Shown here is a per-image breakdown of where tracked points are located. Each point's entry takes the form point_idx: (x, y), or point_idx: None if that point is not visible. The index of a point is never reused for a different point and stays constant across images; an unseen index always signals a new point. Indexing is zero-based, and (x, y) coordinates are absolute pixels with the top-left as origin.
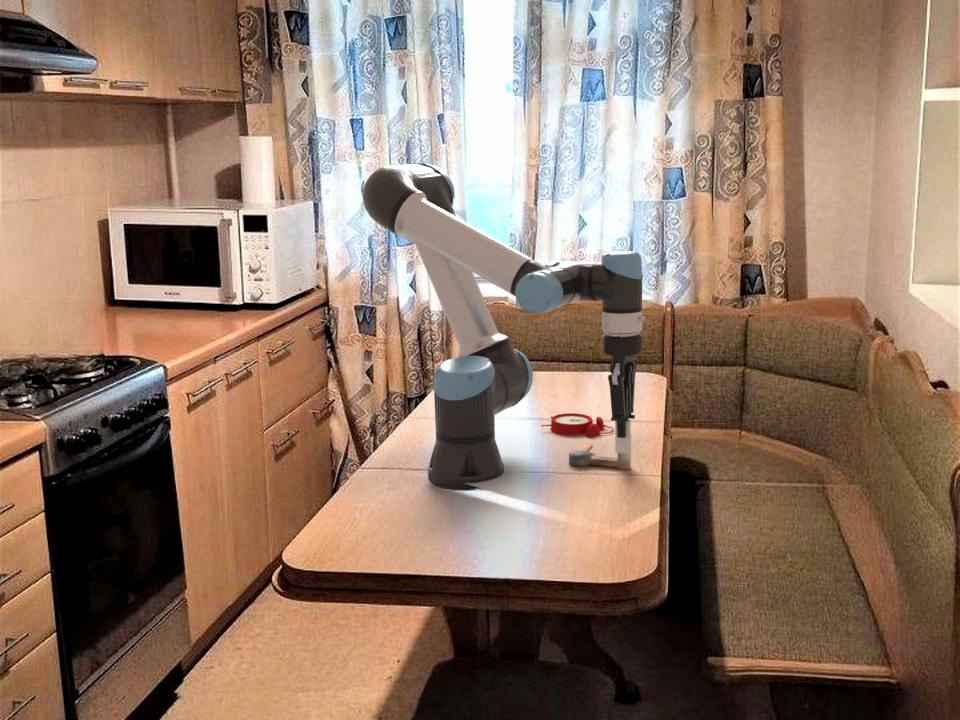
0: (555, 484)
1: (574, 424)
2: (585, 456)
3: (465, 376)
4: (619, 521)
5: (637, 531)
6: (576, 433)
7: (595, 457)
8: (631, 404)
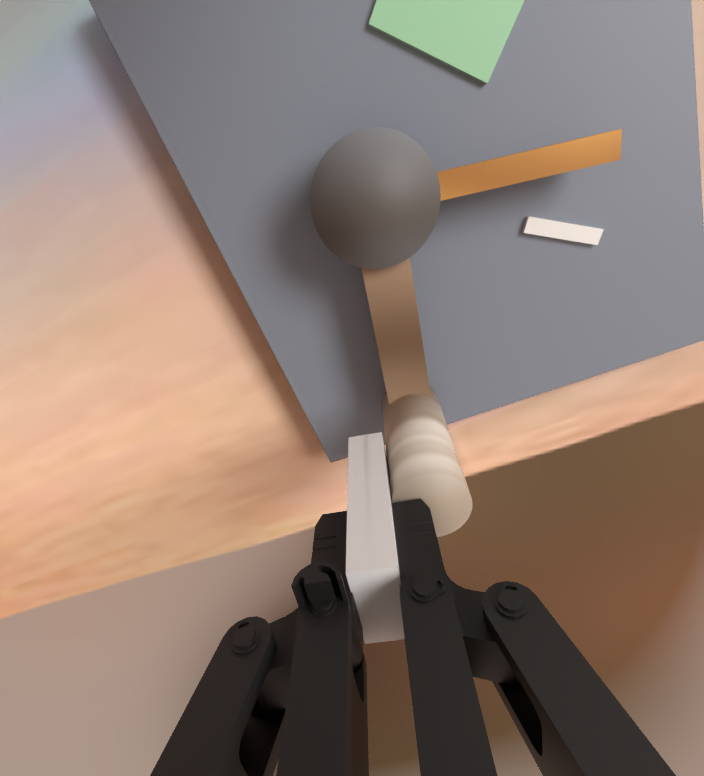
0: (138, 189)
1: None
2: (344, 257)
3: None
4: (23, 531)
5: (7, 583)
6: None
7: (392, 290)
8: (518, 727)
